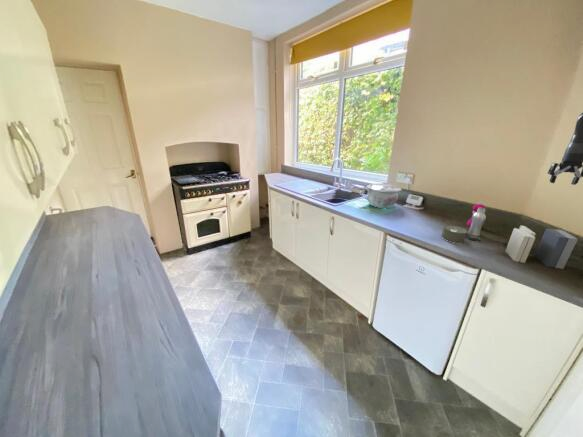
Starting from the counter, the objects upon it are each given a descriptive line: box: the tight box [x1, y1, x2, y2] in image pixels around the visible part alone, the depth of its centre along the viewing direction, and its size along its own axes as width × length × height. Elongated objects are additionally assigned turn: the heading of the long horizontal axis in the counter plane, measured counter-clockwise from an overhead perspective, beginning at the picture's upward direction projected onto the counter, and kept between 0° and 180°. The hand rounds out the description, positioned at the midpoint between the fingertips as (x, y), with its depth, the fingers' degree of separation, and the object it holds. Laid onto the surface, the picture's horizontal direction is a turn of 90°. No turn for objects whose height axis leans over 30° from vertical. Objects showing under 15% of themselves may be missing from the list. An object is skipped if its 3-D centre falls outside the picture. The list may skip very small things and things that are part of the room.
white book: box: [518, 225, 537, 238], centre depth 125 cm, size 2×11×14 cm, turn 159°
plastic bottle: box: [466, 207, 487, 242], centre depth 139 cm, size 6×7×20 cm
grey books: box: [533, 228, 578, 270], centre depth 116 cm, size 6×11×16 cm, turn 158°
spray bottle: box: [466, 201, 486, 227], centre depth 151 cm, size 7×7×20 cm
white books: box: [504, 227, 536, 264], centre depth 121 cm, size 4×11×14 cm, turn 159°
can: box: [441, 224, 468, 244], centre depth 141 cm, size 12×12×7 cm
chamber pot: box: [360, 182, 402, 209], centre depth 198 cm, size 28×28×21 cm
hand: (562, 183), depth 125 cm, fingers open, 8 cm apart
